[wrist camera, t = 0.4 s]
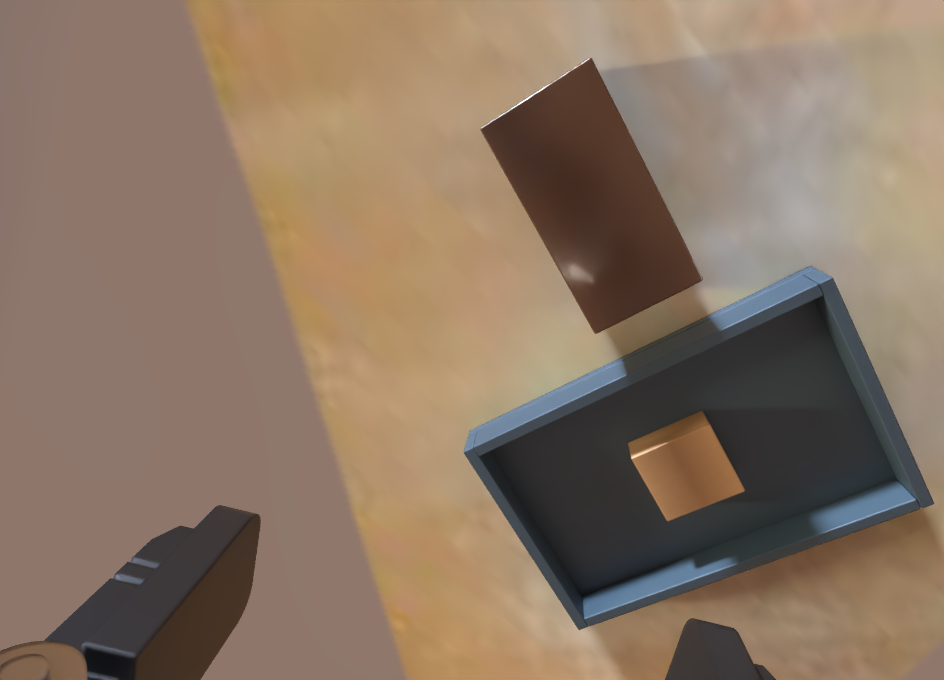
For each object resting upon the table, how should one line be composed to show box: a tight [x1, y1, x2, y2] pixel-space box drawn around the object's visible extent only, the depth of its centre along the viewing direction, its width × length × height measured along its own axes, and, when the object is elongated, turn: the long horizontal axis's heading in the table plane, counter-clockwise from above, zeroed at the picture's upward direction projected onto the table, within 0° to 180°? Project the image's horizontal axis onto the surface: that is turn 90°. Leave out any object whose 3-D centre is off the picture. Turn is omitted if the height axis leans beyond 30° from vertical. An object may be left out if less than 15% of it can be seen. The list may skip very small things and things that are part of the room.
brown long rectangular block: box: [481, 58, 703, 334], centre depth 25 cm, size 4×9×6 cm, turn 31°
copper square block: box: [628, 411, 745, 521], centre depth 30 cm, size 4×4×2 cm
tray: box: [464, 266, 934, 630], centre depth 30 cm, size 18×12×2 cm
